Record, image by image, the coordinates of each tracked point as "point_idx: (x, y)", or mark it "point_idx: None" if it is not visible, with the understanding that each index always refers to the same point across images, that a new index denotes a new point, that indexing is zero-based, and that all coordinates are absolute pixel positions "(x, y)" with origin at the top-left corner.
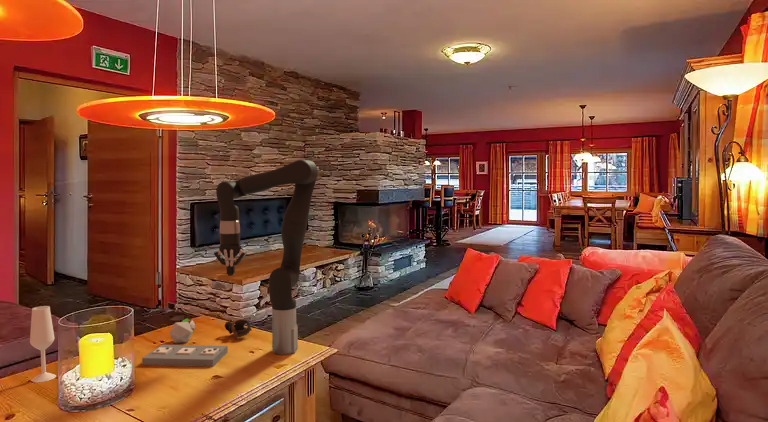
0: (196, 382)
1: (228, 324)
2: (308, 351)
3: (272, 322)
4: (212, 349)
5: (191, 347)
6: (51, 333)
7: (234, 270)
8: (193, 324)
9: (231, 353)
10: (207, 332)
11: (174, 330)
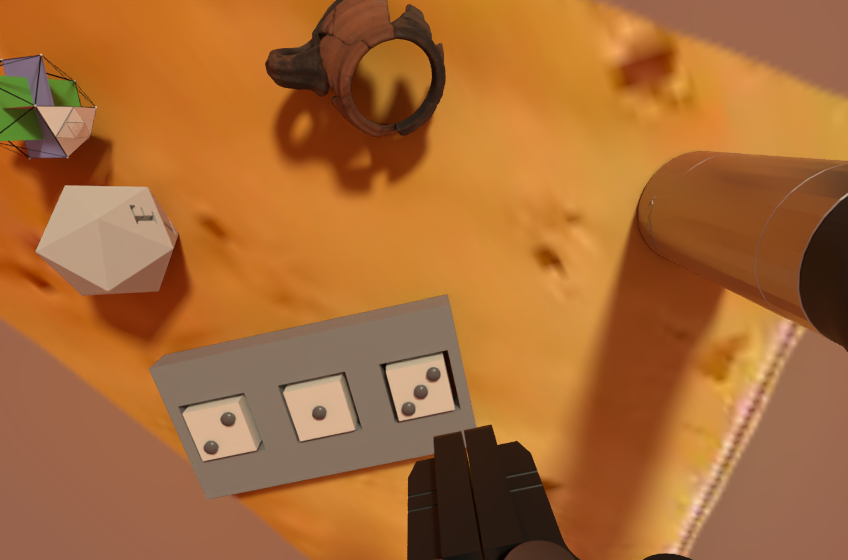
0: None
1: (303, 86)
2: None
3: (738, 288)
4: (421, 375)
5: (304, 362)
6: None
7: (543, 496)
8: (74, 119)
9: (470, 300)
10: (155, 59)
11: (102, 293)
